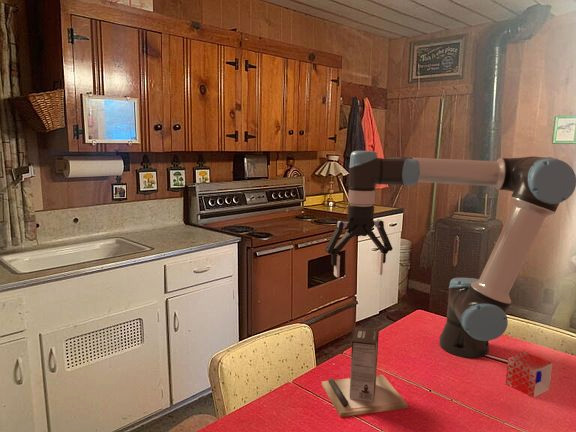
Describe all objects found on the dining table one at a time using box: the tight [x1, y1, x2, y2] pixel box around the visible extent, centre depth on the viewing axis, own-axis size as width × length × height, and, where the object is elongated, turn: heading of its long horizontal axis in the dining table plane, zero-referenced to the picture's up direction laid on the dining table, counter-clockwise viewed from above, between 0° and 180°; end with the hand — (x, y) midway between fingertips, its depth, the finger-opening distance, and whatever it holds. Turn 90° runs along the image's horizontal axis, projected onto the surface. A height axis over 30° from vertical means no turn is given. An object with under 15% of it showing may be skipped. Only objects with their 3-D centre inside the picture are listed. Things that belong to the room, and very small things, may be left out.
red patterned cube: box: [505, 351, 553, 398], centre depth 125 cm, size 8×8×8 cm
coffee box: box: [349, 326, 380, 402], centre depth 119 cm, size 9×6×16 cm
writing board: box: [321, 374, 409, 418], centre depth 120 cm, size 18×15×3 cm
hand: (358, 274), depth 136 cm, fingers open, 13 cm apart
